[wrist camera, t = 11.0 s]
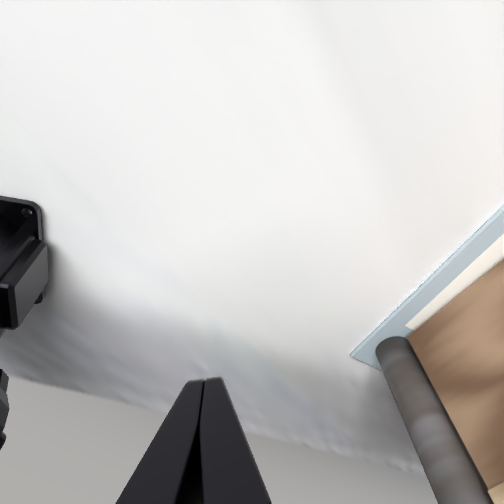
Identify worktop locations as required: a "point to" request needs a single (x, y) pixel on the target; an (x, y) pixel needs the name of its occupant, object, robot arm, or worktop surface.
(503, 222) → the card
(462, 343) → the fence swing panel
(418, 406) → the panel
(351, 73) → the worktop surface
